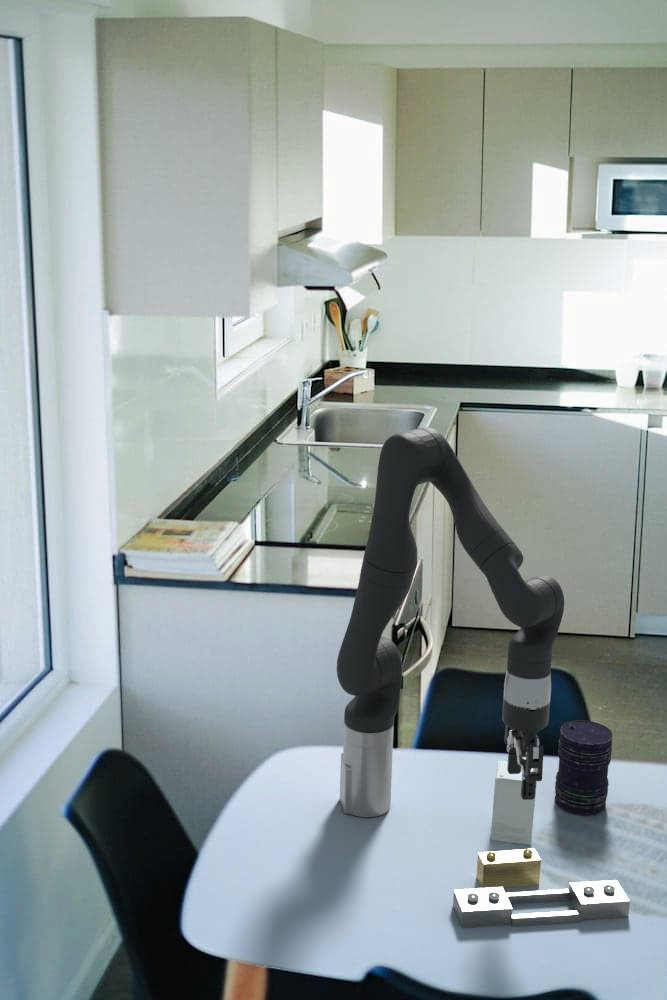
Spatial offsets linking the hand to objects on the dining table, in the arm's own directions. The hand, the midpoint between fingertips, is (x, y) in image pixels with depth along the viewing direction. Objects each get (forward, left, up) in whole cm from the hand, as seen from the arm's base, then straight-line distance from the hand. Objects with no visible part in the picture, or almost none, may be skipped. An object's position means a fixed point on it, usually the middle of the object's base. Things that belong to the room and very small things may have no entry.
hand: (520, 785), depth 207 cm
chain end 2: (+9, -9, -18) cm, 22 cm away
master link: (-1, 0, -18) cm, 18 cm away
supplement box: (+4, +15, -19) cm, 24 cm away
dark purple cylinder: (+20, +24, -19) cm, 36 cm away
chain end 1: (-5, -9, -18) cm, 21 cm away
